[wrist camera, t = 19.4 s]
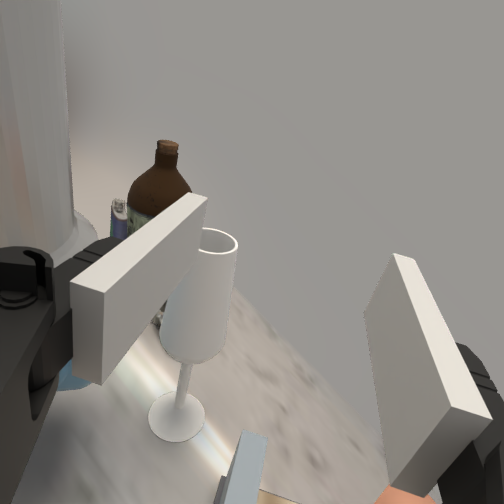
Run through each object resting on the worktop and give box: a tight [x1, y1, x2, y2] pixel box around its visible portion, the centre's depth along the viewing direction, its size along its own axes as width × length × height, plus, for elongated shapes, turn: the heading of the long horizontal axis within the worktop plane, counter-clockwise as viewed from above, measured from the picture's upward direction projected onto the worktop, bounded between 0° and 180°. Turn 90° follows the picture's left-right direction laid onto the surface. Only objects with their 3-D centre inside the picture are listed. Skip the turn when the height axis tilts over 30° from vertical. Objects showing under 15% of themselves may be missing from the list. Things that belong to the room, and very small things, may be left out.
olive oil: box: [127, 140, 192, 238], centre depth 58 cm, size 11×11×25 cm
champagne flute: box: [148, 228, 238, 442], centre depth 35 cm, size 7×7×24 cm
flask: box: [110, 198, 127, 240], centre depth 67 cm, size 9×3×11 cm, turn 24°
